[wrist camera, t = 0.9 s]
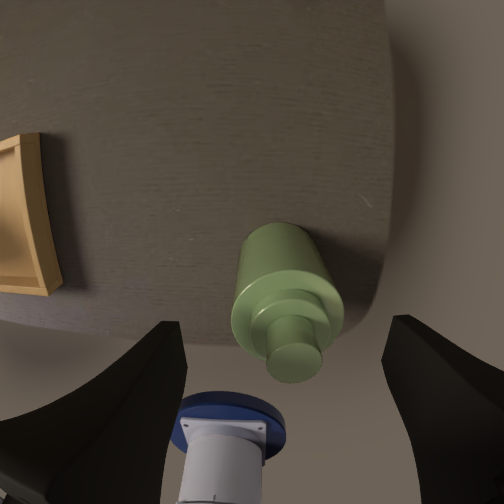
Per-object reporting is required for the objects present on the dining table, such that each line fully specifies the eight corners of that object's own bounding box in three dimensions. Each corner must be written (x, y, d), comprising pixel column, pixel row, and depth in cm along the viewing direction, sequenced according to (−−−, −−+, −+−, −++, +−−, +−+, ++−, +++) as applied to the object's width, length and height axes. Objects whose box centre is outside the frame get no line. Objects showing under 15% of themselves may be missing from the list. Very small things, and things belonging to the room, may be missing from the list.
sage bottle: (315, 294, 18) (349, 402, 10) (240, 295, 18) (229, 407, 10) (319, 222, 16) (373, 303, 8) (237, 222, 16) (220, 307, 8)
